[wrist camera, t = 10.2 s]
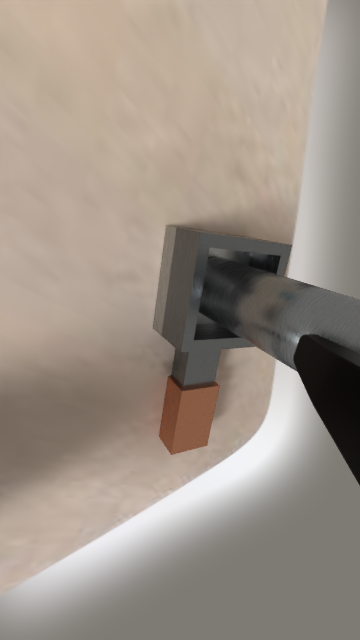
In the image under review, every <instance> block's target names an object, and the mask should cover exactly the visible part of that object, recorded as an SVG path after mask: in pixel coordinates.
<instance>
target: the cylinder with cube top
mask: <svg viewBox="0 0 360 640" xmlns="http://www.w3.org/2000/svg"><path fill="white" fill-rule="evenodd" d="M199 313H201V314H203V315H204V316H206V317H208V318H209V319H211V320H213V321H214V322H216V323H218V324H219V325H221V326H223V327H224V328H226V329H228V330H229V331H231V332H233V333H234V334H236V335H237V336H239V337H241V338H242V339H244V340H246V341H247V342H249V343H251V344H252V345H254V346H256V347H257V348H259V349H261V350H262V351H264V352H266V353H267V354H269V355H271V356H272V357H274V358H276V359H277V360H279V361H281V362H282V363H284V364H286V365H287V366H289V367H291V368H292V369H294V370H296V371H297V369H296V367H295V364H294V361H293V356H294V353H295V350H296V347H297V344H298V342H299V339H300V337H301V336H302V335H304V334H317V335H319V336H321V337H324V338H326V339H328V340H331V341H333V342H335V343H337V344H340V345H342V346H344V347H347V348H349V349H351V350H354V351H356V352H358V353H360V300H359V299H356V298H352V297H349V296H345V295H343V294H339V293H336V292H332V291H330V290H326V289H323V288H320V287H316V286H313V285H310V284H307V283H303V282H300V281H297V280H294V279H290V278H287V277H284V276H280V275H277V274H274V273H271V272H267V271H264V270H261V269H258V268H254V267H251V266H248V265H244V264H241V263H238V262H235V261H231V260H228V259H225V258H221V257H212V258H209V259H208V260H207V266H206V272H205V277H204V283H203V289H202V295H201V300H200V306H199ZM297 372H298V371H297Z"/></svg>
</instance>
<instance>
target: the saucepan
mask: <svg viewBox="0 0 360 640" xmlns="http://www.w3.org/2000/svg"><path fill="white" fill-rule="evenodd" d="M291 247H292V245H288V244H283V243H277V242H272V241H266V240H261V239H255V238H249V237H243V236H236V235H229V234H222V233H215V232H208V231H201V230H194V229H187V228H180V227H173V226H166V233H165V241H164V248H163V256H162V264H161V271H160V279H159V286H158V294H157V302H156V309H155V317H154V324H153V329H155V330H156V331H157V332H158V333H159V334H160V335H162V336H163V337H164V338H165V339H166V340H167V341H168V342H170V343H171V344H172V345H173V346H174V347H175V348H176V351H175V357H174V363H173V370H172V376H169V377H168V382H167V388H166V395H165V401H164V408H163V414H162V421H161V427H160V434H159V437H160V439H161V440H162V442H163V443H164V445H165V446H166V448H167V449H168V451H169V452H170V454H171V455H172V454H176V453H180V452H184V451H188V450H192V449H195V448H199V447H203V446H207V443H208V438H209V434H210V429H211V424H212V419H213V415H214V410H215V405H216V400H217V395H218V391H219V385H218V384H217V383H216V382H215V376H216V371H217V366H218V361H219V356H220V351H221V349H230V348H243V347H255V346H254V345H252V344H251V343H249V342H247V341H246V340H244V339H242V338H241V337H239V336H237V335H236V334H234V333H233V332H231V331H229V330H228V329H226V328H224V327H223V326H221V325H219V324H218V323H216V322H214V321H213V320H211V319H209V318H208V317H206V316H204V315H203V314H201V313H199V306H200V300H201V295H202V289H203V283H204V277H205V272H206V266H207V260H208V259H209V258H212V257H221V258H225V259H228V260H231V261H235V262H238V263H241V264H244V265H248V266H251V267H254V268H258V269H261V270H264V271H267V272H271V273H274V274H277V275H280V276H284V275H285V271H286V267H287V263H288V259H289V255H290V251H291Z"/></svg>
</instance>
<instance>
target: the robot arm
mask: <svg viewBox="0 0 360 640" xmlns="http://www.w3.org/2000/svg"><path fill="white" fill-rule="evenodd" d="M293 361H294V364H295V367H296V369H297V371H298V373H299V375H300V377H301V379H302V382H303V384H304V386H305V389H306V391H307V393H308V395H309V397H310V399H311V402H312V403H313V406H314V407H315V409H316V411H317V413H318V414H319V416H320V418H321V419H322V421H323V423H324V425H325V427H326V428H327V430H328V432H329V433H330V435H331V437H332V438H333V440H334V442H335V444H336V446H337V447H338V449H339V451H340V452H341V454H342V456H343V458H344V459H345V461H346V463H347V464H348V466H349V468H350V470H351V471H352V473H353V475H354V476H355V478H356V480H357V482H358V483H359V485H360V353H358V352H356V351H354V350H351V349H349V348H347V347H344V346H342V345H340V344H337V343H335V342H333V341H331V340H328V339H326V338H324V337H321V336H319V335H317V334H304V335H302V336H301V337H300V339H299V342H298V344H297V347H296V350H295V353H294V356H293Z"/></svg>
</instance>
